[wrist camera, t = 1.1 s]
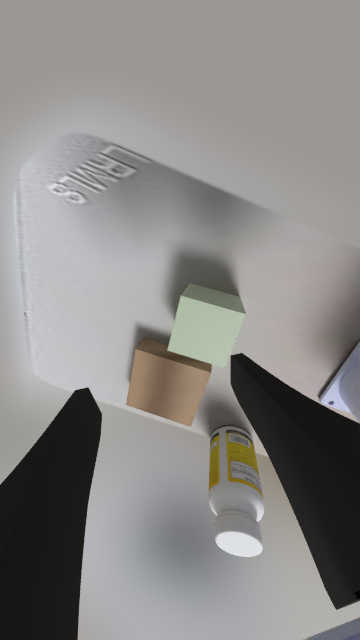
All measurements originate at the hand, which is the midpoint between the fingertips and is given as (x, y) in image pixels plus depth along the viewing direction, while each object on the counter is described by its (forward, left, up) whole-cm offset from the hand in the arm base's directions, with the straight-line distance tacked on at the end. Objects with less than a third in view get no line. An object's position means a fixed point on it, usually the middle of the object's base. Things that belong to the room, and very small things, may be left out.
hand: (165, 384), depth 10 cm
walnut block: (+1, +9, -12) cm, 15 cm away
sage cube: (-1, 0, -11) cm, 11 cm away
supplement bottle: (-9, +16, -12) cm, 22 cm away
